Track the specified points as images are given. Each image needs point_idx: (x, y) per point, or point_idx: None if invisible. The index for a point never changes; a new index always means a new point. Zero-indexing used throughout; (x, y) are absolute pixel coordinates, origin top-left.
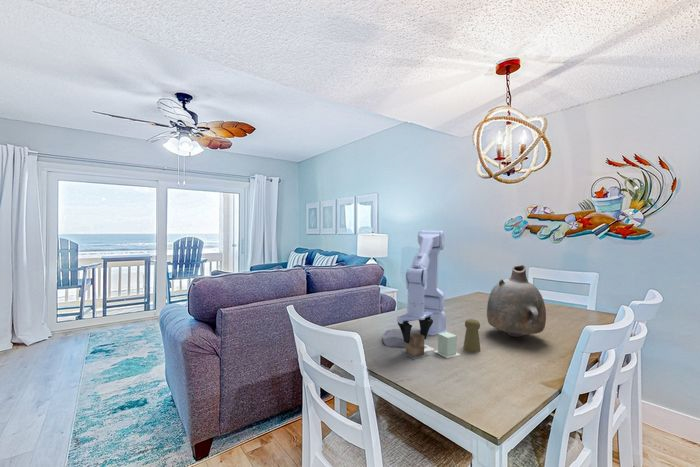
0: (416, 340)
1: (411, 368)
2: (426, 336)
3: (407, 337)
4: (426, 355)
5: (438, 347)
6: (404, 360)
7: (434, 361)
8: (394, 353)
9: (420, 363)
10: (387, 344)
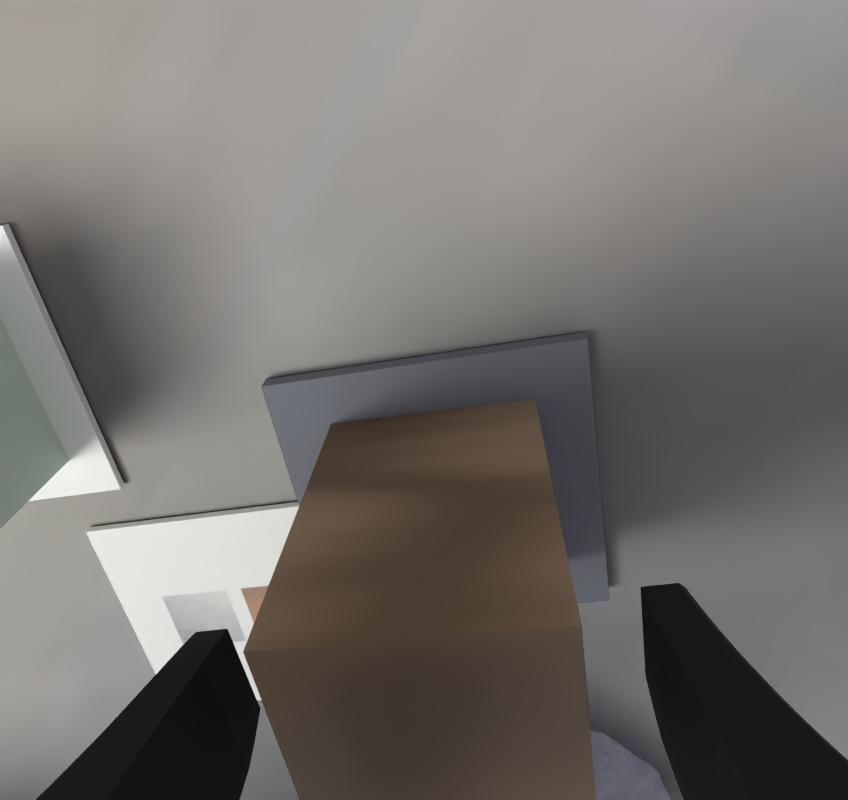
0: (503, 578)
1: (828, 55)
2: (163, 673)
3: (765, 681)
4: (311, 385)
5: (23, 487)
6: (725, 363)
7: (271, 191)
8: (707, 586)
9: (546, 192)
10: (653, 783)
